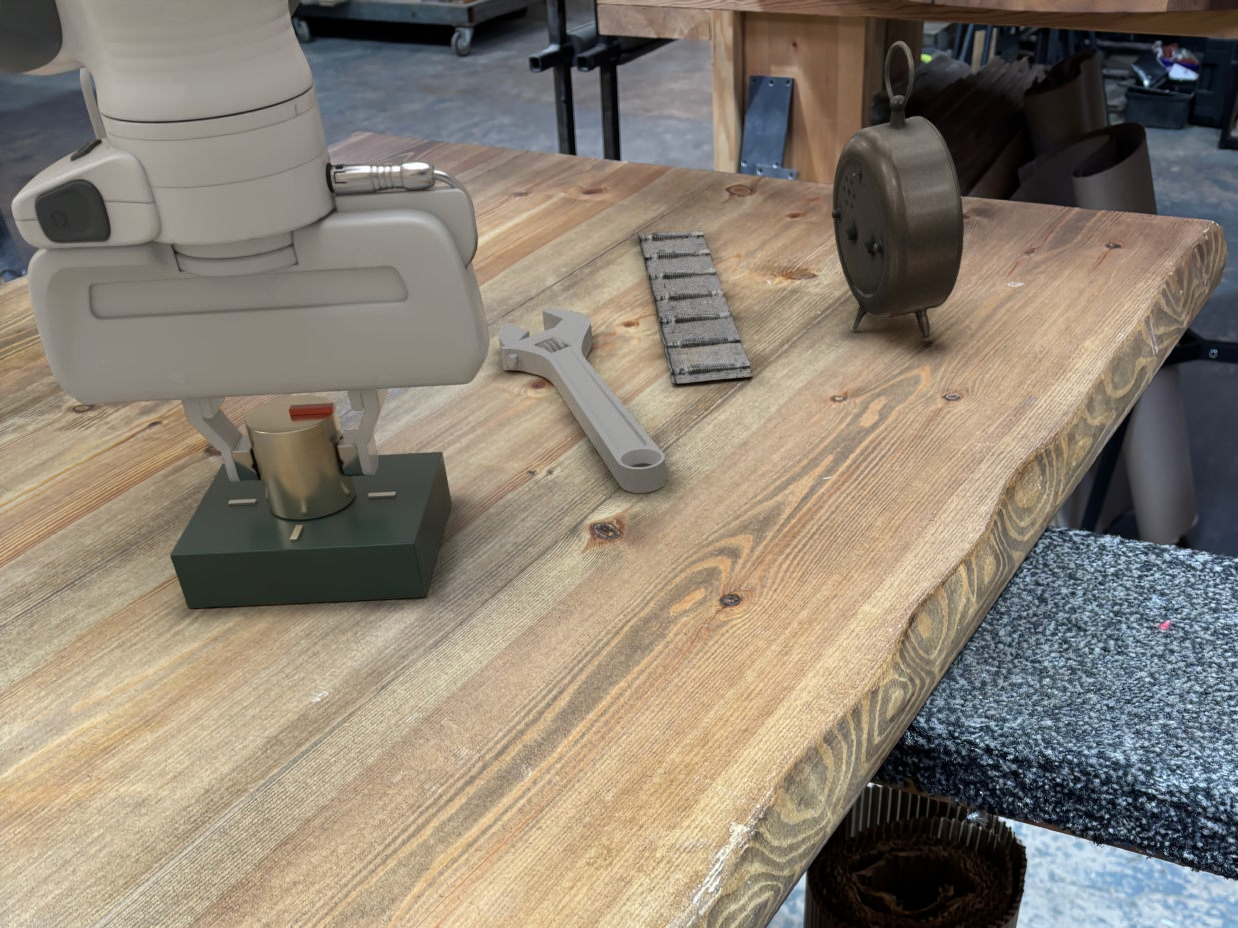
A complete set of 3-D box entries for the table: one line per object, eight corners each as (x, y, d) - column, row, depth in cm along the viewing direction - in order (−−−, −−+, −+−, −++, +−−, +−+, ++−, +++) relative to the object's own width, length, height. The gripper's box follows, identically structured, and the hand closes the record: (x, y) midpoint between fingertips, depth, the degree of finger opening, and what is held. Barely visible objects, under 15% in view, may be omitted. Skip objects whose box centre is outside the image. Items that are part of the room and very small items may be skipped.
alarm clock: (959, 349, 84) (985, 53, 73) (880, 363, 83) (895, 66, 72) (889, 293, 92) (903, 19, 81) (816, 306, 91) (820, 30, 80)
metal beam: (701, 237, 105) (637, 239, 104) (701, 224, 104) (636, 227, 104) (753, 380, 83) (671, 384, 82) (753, 365, 82) (671, 370, 82)
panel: (187, 609, 66) (167, 551, 64) (237, 513, 74) (221, 459, 71) (425, 598, 66) (413, 539, 63) (452, 502, 73) (442, 448, 71)
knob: (259, 522, 66) (232, 428, 63) (279, 481, 69) (255, 391, 66) (346, 517, 66) (323, 424, 62) (363, 477, 69) (342, 386, 66)
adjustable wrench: (674, 490, 73) (672, 459, 71) (559, 510, 72) (556, 480, 71) (584, 328, 91) (581, 301, 89) (491, 343, 90) (487, 316, 89)
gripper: (475, 136, 59) (516, 436, 68) (26, 165, 60) (128, 456, 69) (456, 178, 54) (504, 493, 64) (-29, 208, 55) (88, 513, 65)
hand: (305, 474), depth 67 cm, fingers closed on knob, 4 cm apart
